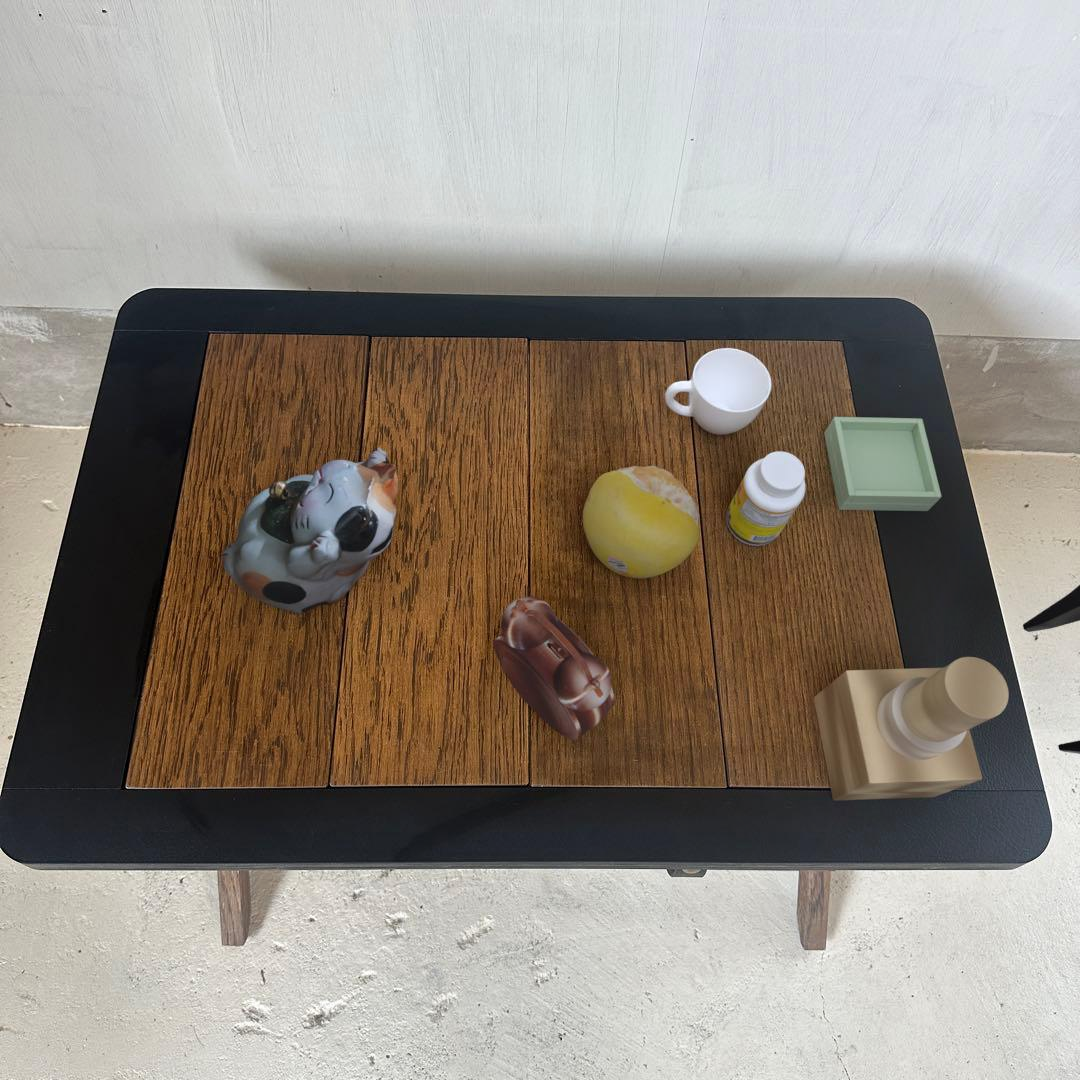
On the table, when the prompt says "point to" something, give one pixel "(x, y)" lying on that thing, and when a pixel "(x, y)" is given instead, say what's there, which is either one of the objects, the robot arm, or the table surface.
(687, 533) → the fruit
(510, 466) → the table surface
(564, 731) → the alarm clock
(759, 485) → the supplement bottle
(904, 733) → the tan cylindrical piece
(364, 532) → the lucky cat figurine
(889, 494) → the mint green tray
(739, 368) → the cup
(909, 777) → the stand
